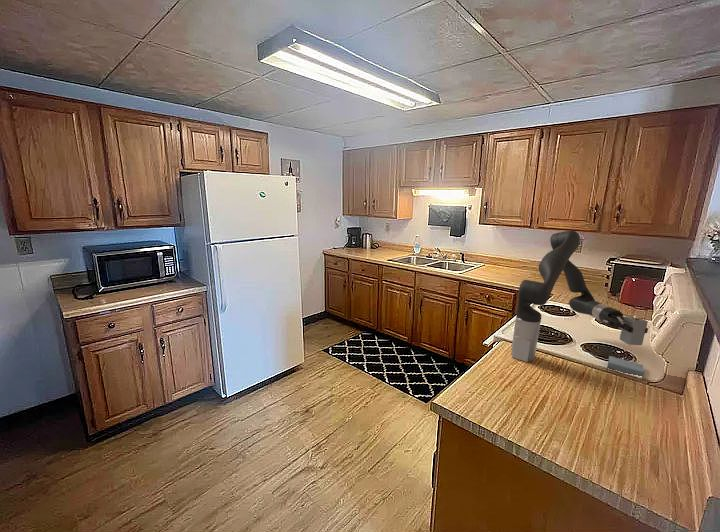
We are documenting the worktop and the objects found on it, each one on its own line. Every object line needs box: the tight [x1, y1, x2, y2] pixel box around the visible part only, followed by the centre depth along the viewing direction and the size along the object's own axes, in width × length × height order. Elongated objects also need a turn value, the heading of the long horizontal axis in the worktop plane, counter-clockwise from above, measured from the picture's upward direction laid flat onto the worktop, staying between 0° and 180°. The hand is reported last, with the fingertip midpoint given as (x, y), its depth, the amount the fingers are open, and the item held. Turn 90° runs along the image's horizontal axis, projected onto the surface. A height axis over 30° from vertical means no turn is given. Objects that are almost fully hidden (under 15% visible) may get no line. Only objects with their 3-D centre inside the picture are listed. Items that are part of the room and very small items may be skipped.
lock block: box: [619, 315, 649, 346], centre depth 128 cm, size 5×5×11 cm
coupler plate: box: [606, 355, 645, 378], centre depth 131 cm, size 12×11×3 cm
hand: (639, 330), depth 125 cm, fingers closed on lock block, 5 cm apart
